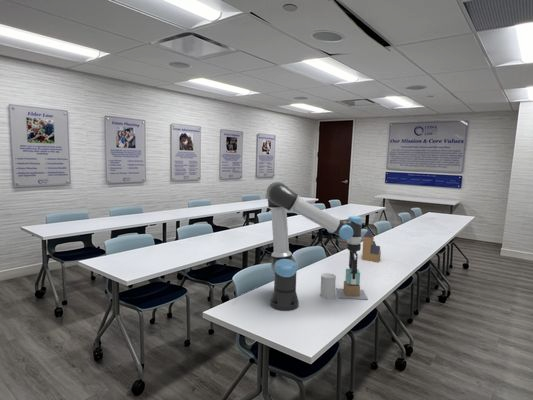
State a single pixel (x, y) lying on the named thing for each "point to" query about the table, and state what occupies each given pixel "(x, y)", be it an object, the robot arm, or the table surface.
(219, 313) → the table surface
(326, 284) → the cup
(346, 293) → the tower base
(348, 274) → the teal cube
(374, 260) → the toy building blocks
